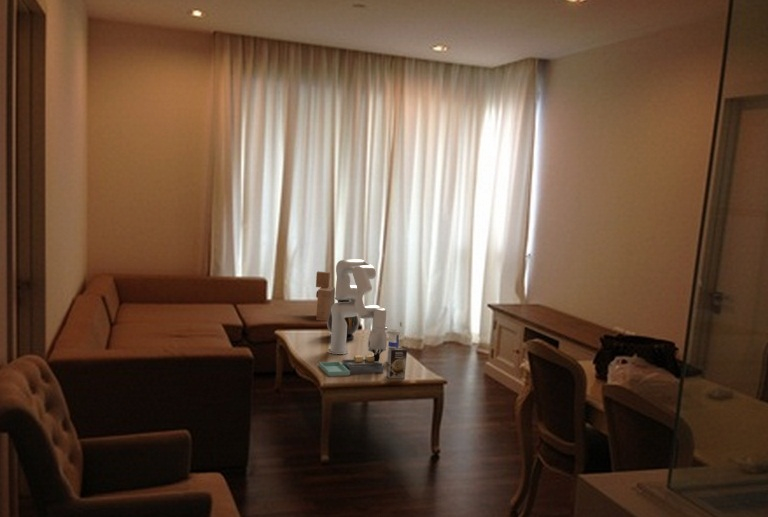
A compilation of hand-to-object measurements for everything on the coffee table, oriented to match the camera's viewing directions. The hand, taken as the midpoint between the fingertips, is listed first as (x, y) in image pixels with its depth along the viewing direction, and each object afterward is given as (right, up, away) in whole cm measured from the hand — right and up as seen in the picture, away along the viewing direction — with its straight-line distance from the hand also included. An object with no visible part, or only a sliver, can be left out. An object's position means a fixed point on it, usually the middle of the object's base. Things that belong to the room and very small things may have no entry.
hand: (376, 360), depth 390 cm
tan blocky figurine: (-42, +12, +139) cm, 146 cm away
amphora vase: (-24, +4, +74) cm, 78 cm away
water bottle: (+9, -4, +19) cm, 22 cm away
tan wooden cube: (-10, -1, -4) cm, 11 cm away
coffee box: (+11, -7, -12) cm, 18 cm away
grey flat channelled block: (-8, -5, -3) cm, 10 cm away
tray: (-24, -4, -9) cm, 26 cm away
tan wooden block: (-4, -1, -2) cm, 4 cm away
